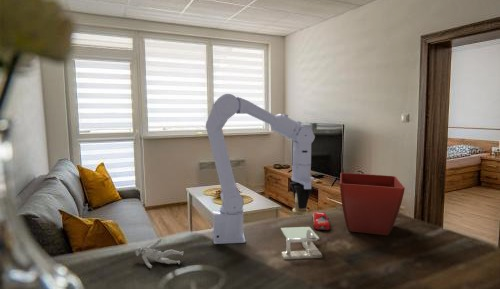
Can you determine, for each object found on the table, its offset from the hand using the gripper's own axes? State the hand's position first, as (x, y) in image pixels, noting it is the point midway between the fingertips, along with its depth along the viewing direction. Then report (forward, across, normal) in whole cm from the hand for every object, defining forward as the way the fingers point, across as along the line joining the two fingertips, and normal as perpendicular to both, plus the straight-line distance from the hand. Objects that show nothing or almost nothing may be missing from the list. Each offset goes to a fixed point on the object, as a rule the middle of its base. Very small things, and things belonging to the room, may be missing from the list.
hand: (300, 206), depth 101 cm
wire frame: (+9, -12, +4) cm, 16 cm away
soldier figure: (+10, -14, +42) cm, 45 cm away
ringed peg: (+2, 0, 0) cm, 2 cm away
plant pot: (+10, +4, -25) cm, 27 cm away
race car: (+10, +9, -10) cm, 17 cm away
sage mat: (+9, +1, 0) cm, 9 cm away
